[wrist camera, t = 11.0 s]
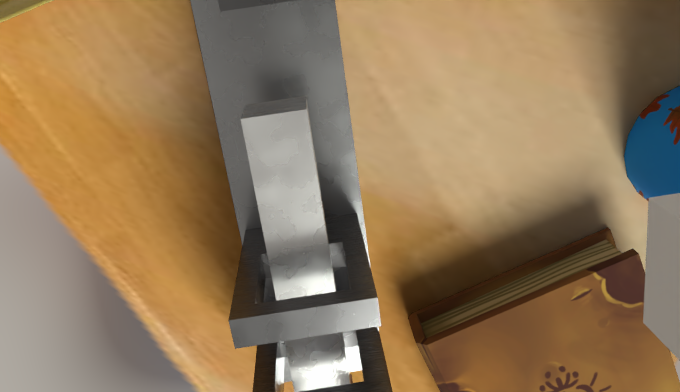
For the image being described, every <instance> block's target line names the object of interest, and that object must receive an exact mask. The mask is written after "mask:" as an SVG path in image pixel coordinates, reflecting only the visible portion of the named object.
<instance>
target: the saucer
mask: <svg viewBox="0 0 680 392" xmlns="http://www.w3.org/2000/svg"><path fill="white" fill-rule="evenodd" d="M51 1H53V0H0V23H1V22H4V21H6V20H8V19H10V18H13V17H15V16H17V15H20V14H22V13H25V12H27V11H29V10H32V9H34V8H36V7H39V6H41V5H44V4H46V3H48V2H51Z"/></svg>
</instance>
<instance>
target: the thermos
mask: <svg viewBox="0 0 680 392" xmlns="http://www.w3.org/2000/svg"><path fill="white" fill-rule="evenodd" d="M624 160H625V166H626V171H627V177H628V178H629V180H630V181H631V183H632V184H633V186H634V187H635V189H636V191H637V192H638V193H639V194H640V195H642V196H643V197H644V198H645V199H646V200H648V201H649V198H650V197H657V196H663V195H670V194H677V193H680V86H678V87H676V88H674V89H673V90H671V91H669V92H667V93H665V94H663V95H661V96H659V97H657V98H656V99H655V100H654V101H653V102H652V103H651V104H650V105H649V106H648V107H647V108H646V109H645V110H644V111H643V112H642V113H641V114H640V115H639V117H638V118H637V120H636V122H635V124H634V126H633V127H632V129H631V131H630V133H629V135H628V139H627V144H626V149H625V154H624Z"/></svg>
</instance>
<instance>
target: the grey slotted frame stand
mask: <svg viewBox="0 0 680 392" xmlns="http://www.w3.org/2000/svg"><path fill="white" fill-rule="evenodd" d="M190 1H191V6H192V11H193V15H194V20H195V25H196V29H197V34H198V39H199V44H200V48H201V53H202V58H203V62H204V67H205V72H206V77H207V81H208V86H209V91H210V95H211V100H212V105H213V109H214V114H215V119H216V124H217V128H218V133H219V138H220V142H221V147H222V152H223V157H224V161H225V166H226V171H227V175H228V180H229V185H230V190H231V194H232V199H233V204H234V208H235V213H236V218H237V222H238V227H239V232H240V237H241V241H242V251H241V256H240V262H239V267H238V273H237V278H236V283H235V289H234V294H233V300H232V305H231V310H230V316H229V324H230V329H231V333H232V337H233V342H234V346H235V349H236V348H242V347H249V346H255V345H257V353H256V363H255V373H254V383H253V392H284V382H289V381H292V377H291V372H290V367H289V362H288V357H287V352H286V346H285V341H288V340H294V339H301V338H307V337H313V336H320V335H326V334H333V333H339V332H343V336H344V342H345V349H346V355H347V362H348V368H349V372H353V371H360V370H362V373H363V379H364V382H357V383H351V384H345V385H338V386H332V387H325V388H319V389H313V390H306V391H300V392H392V387H391V383H390V378H389V374H388V370H387V365H386V361H385V356H384V352H383V347H382V343H381V339H380V334H379V329H378V326H381V320H380V312H379V305H378V297H377V293H376V289H375V285H374V281H373V277H372V273H371V269H370V261H369V254H368V246H367V239H366V231H365V223H364V216H363V208H362V201H361V193H360V186H359V178H358V171H357V163H356V156H355V148H354V140H353V133H352V125H351V118H350V110H349V103H348V95H347V88H346V80H345V73H344V65H343V58H342V50H341V42H340V35H339V27H338V20H337V12H336V5H335V0H190ZM301 96H306V100H307V107H308V113H309V119H310V126H311V132H312V139H313V145H314V151H315V158H316V164H317V170H318V177H319V183H320V190H321V196H322V202H323V209H324V215H325V221H326V228H327V234H328V240H329V247H330V253H331V260H332V266H333V272H334V279H335V285H336V291H335V292H329V293H322V294H316V295H309V296H303V297H296V298H290V299H283V300H277V301H276V296H275V291H274V286H273V281H272V276H271V271H270V265H269V260H268V255H267V250H266V245H265V240H264V235H263V230H262V225H261V220H260V215H259V210H258V205H257V200H256V195H255V190H254V185H253V179H252V174H251V169H250V164H249V159H248V154H247V149H246V144H245V139H244V134H243V129H242V124H241V116H242V114H243V111H244V108H245V105H247V104H254V103H261V102H267V101H274V100H281V99H288V98H294V97H301Z"/></svg>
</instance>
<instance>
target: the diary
mask: <svg viewBox="0 0 680 392" xmlns="http://www.w3.org/2000/svg"><path fill="white" fill-rule="evenodd" d="M644 292H645V272H644V269H643V266H642V262H641V259H640V256H639V254H638V253H637V252H636V251H635V250H634V249H631V250H629V251H626V252H624V253H621V252H620V251H619V250H618V249H617V248H616V245H615V242H614V239H613V236H612V233H611V230H610V229H609V228H606V229H603V230H601V231H599V232H597V233H594V234H592V235H590V236H587V237H585V238H583V239H581V240H578V241H576V242H574V243H571V244H569V245H567V246H565V247H562V248H560V249H558V250H555V251H553V252H551V253H549V254H546V255H544V256H542V257H539V258H537V259H535V260H533V261H530V262H528V263H526V264H523V265H521V266H519V267H517V268H514V269H512V270H510V271H507V272H505V273H503V274H501V275H498V276H496V277H494V278H491V279H489V280H487V281H485V282H482V283H480V284H478V285H475V286H473V287H471V288H469V289H466V290H464V291H462V292H459V293H457V294H455V295H453V296H450V297H448V298H446V299H443V300H441V301H439V302H437V303H434V304H432V305H430V306H427V307H425V308H423V309H421V310H418V311H416V312H414V313H412V314H411V315H410V316H409V318H408V319H409V322H410V326H411V329H412V332H413V335H414V338H415V341H416V344H417V346H418V348H419V350H420V352H421V354H422V356H423V358H424V360H425V362H426V364H427V366H428V368H429V370H430V372H431V374H432V376H433V378H434V380H435V382H436V384H437V386H438V388H439V390H440V392H680V382H679V379H678V375H677V372H676V369H675V366H674V363H673V360H672V357H671V353H670V350H669V349H668V348H667V347H666V346H665V345H664V344H663V343H662V342H661V341H660V339H659V338H658V337H657V336H656V335H655V334H654V333H653V332H652V331H651V330H650V329H649V328H648V327H647V326H646V325H645V324H644V323H643V314H644Z"/></svg>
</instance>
